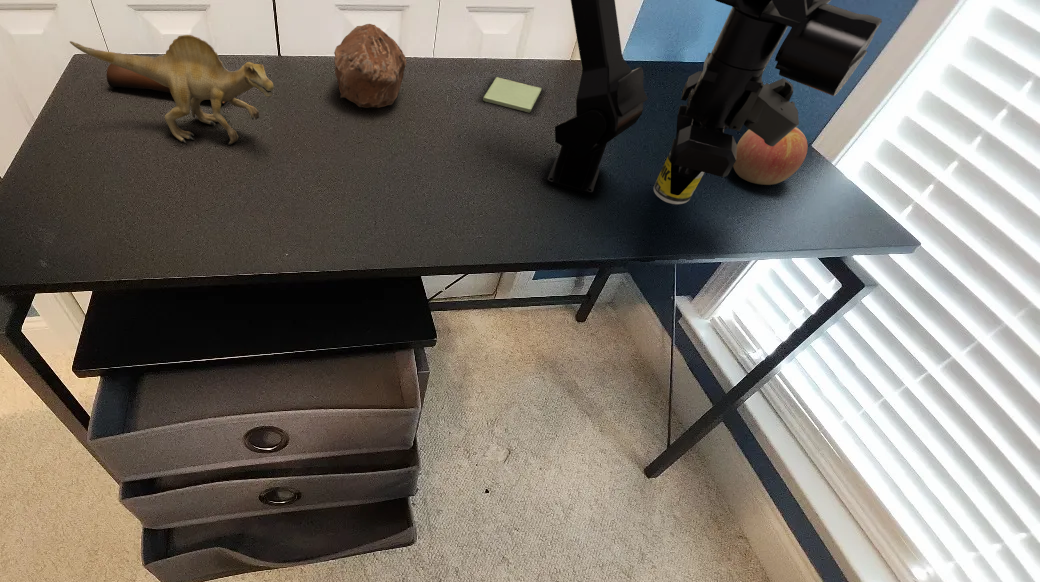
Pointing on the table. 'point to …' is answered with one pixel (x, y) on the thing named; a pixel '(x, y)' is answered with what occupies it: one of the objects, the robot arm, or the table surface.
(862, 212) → the table surface
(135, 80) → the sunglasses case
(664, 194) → the supplement bottle
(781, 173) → the apple
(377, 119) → the table surface
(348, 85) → the decorative rock
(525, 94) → the mat
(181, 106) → the dinosaur figurine
